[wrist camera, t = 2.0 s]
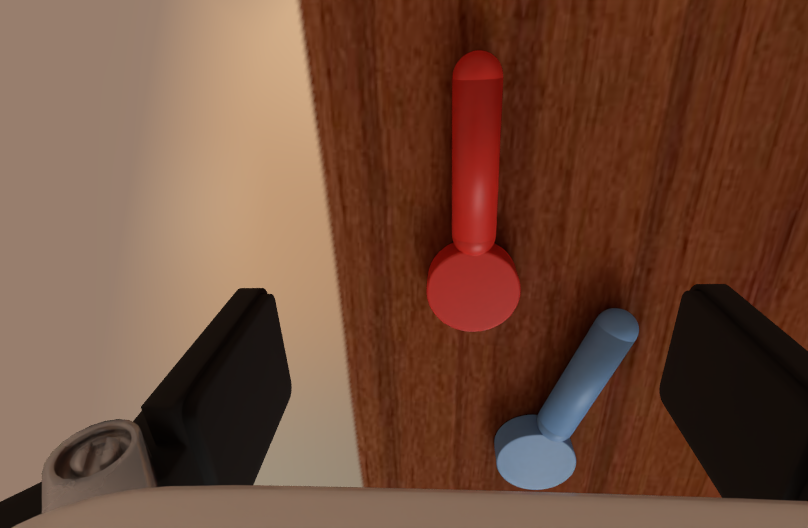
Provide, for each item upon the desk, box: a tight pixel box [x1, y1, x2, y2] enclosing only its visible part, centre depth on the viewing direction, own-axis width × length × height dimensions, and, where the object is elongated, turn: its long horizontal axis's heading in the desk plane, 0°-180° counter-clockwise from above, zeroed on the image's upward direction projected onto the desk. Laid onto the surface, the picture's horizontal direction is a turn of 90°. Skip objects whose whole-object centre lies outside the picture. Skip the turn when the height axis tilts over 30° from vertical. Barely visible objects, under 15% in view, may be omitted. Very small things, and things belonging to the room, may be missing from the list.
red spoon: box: [426, 50, 521, 332], centre depth 18 cm, size 11×4×2 cm, turn 3°
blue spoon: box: [494, 308, 639, 490], centre depth 22 cm, size 11×4×2 cm, turn 163°
